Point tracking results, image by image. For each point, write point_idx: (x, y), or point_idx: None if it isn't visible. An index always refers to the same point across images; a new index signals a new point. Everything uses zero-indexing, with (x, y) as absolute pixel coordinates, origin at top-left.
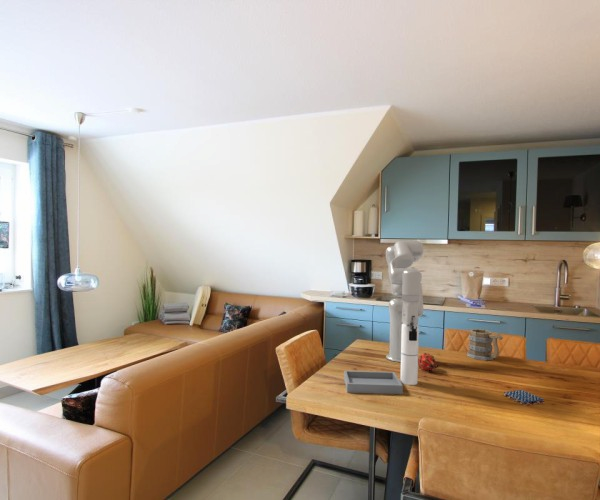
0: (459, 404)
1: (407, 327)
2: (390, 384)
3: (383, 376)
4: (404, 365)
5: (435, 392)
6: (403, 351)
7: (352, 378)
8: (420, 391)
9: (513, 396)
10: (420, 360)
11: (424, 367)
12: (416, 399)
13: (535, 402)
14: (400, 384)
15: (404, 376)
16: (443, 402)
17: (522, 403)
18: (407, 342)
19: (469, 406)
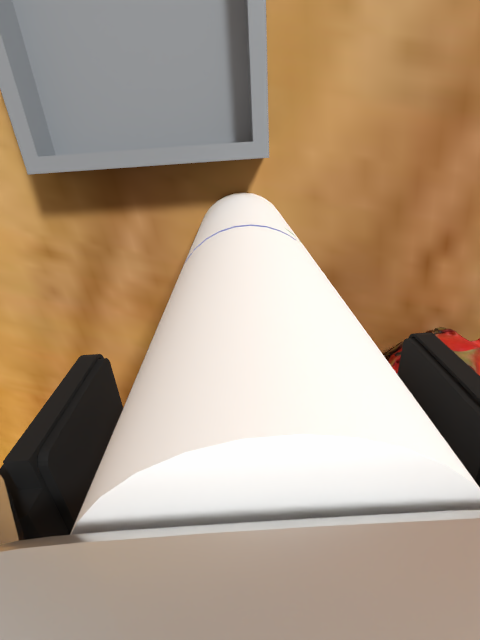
0: (34, 383)
1: (87, 499)
2: (12, 89)
3: (249, 74)
4: (202, 228)
5: (132, 330)
6: (204, 246)
7: None
8: (124, 270)
9: None
10: None
11: (400, 350)
12: (13, 232)
13: None
14: (41, 163)
15: (207, 215)
16: (29, 336)
17: None
18: (160, 320)
19: (30, 408)
